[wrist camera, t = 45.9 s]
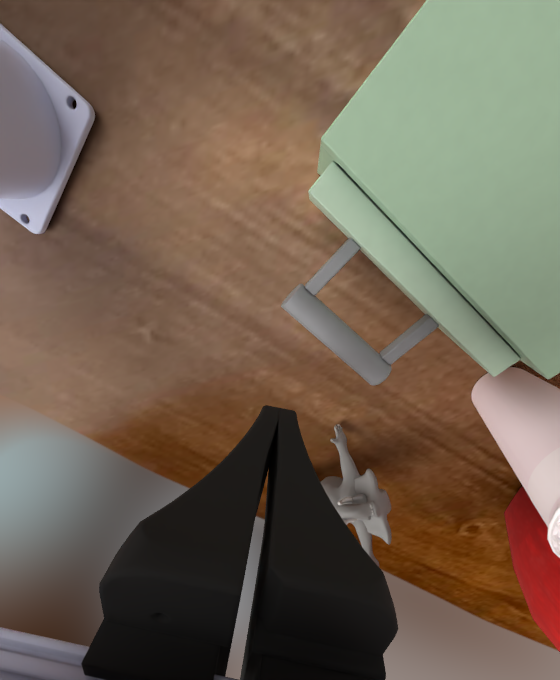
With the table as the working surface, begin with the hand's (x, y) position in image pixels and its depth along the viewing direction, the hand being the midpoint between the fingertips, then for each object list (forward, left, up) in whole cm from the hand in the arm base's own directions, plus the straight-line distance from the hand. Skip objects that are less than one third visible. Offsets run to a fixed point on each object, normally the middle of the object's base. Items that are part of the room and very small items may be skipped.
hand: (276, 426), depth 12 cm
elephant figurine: (+10, -6, -8) cm, 14 cm away
